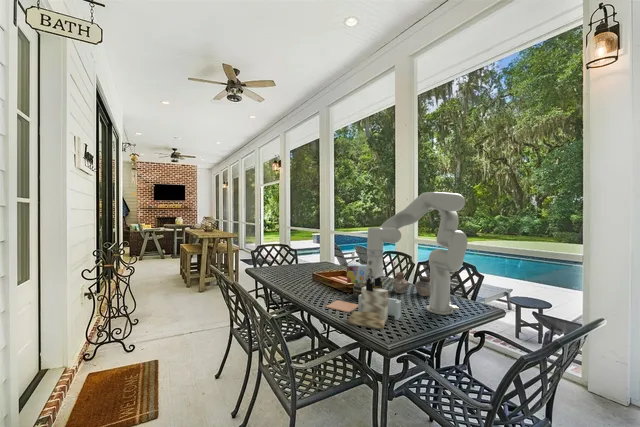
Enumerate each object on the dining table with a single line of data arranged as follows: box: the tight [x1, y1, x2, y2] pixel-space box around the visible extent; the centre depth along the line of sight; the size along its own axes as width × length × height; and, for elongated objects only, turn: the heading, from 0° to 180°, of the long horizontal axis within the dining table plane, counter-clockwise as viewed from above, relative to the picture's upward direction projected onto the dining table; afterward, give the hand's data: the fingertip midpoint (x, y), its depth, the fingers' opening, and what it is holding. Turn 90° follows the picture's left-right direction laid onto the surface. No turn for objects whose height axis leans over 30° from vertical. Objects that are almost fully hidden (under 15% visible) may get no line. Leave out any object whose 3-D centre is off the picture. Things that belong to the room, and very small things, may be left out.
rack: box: [357, 295, 402, 321], centre depth 151 cm, size 20×5×8 cm, turn 57°
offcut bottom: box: [347, 314, 386, 330], centre depth 138 cm, size 16×4×3 cm, turn 67°
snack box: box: [346, 263, 381, 289], centre depth 195 cm, size 21×6×15 cm, turn 84°
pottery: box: [391, 271, 430, 297], centre depth 185 cm, size 11×25×12 cm, turn 70°
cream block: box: [361, 286, 389, 322], centre depth 145 cm, size 12×4×14 cm, turn 57°
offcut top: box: [351, 310, 379, 321], centre depth 138 cm, size 12×3×2 cm, turn 78°
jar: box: [352, 283, 366, 301], centre depth 175 cm, size 10×10×8 cm
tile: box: [325, 300, 358, 314], centre depth 161 cm, size 14×12×1 cm
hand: (373, 288), depth 145 cm, fingers open, 9 cm apart
